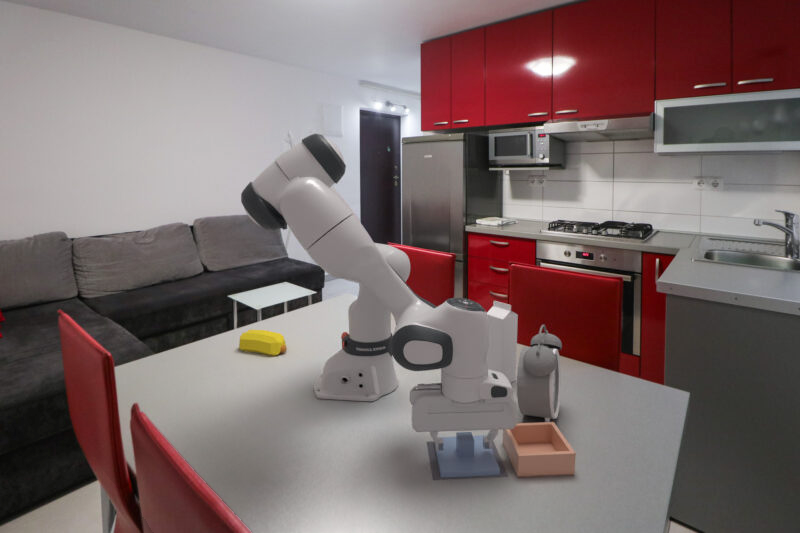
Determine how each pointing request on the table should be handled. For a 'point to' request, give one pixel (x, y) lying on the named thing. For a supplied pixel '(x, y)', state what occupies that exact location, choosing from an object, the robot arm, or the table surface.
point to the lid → (466, 457)
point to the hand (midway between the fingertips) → (463, 448)
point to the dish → (539, 450)
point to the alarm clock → (540, 377)
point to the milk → (502, 340)
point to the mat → (437, 476)
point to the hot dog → (262, 342)
